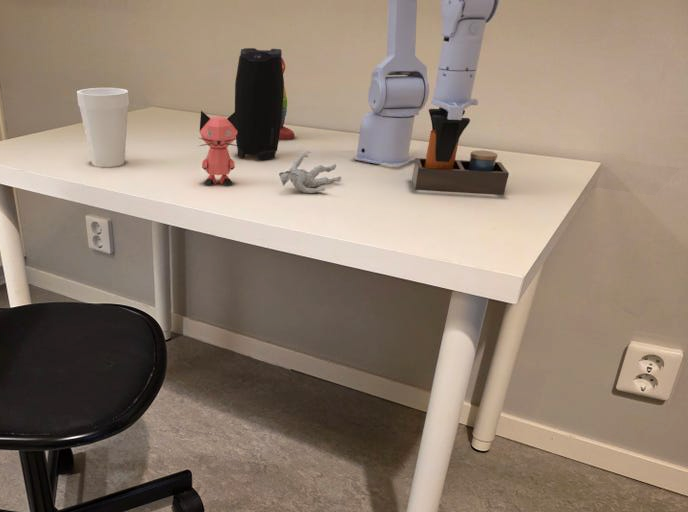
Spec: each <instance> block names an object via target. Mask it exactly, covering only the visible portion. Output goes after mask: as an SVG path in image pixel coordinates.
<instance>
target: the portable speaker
mask: <svg viewBox="0 0 688 512" xmlns="http://www.w3.org/2000/svg"><path fill="white" fill-rule="evenodd" d="M282 54H283V53H282V49H281V48H271V49H269V50H267V49H265V50H263V49H257V48H255V47H245V48H242V49H240V54H239V56H238V63H237V70H236V75H235V76H236V77H235V81H234V82H235V83H234V112H235V111H237V126H238V133H237V135H236V137H235V140H236V141H235V142H236V145H239V146H236V148H237V157H238V158H240V159H245V157H246V156H251V157H256V158H257V160H259V161H267V160H268V161H269V160H273V159H275V156H276V154H277V152H278V147H279V143H280V142H279V141H280V139H279V136H280V130H281V123H282V116H283V96H284V87H285V80H284V79H285V78H284V73H283V68H282V59H281V57H282V56H283V55H282ZM236 138H238V139H236Z"/></svg>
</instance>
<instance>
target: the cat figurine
mask: <svg viewBox="0 0 688 512" xmlns="http://www.w3.org/2000/svg"><path fill="white" fill-rule="evenodd" d="M237 133H238V126H237V111H235V110H234V112H233V113H232V114H230V115H229V116H228V117H227V118H226V117H223V116H213V117H209V116H208V115H207V114H206V113H205V112H204V111H203V110H200V120H199V134H200V137H199V139H200V140H202V141H203V142H204V143H205V144H199V145H198V146H200V147H202V146H208V147H209V149H208V152H207V155H206V157H205V159H204V160H202V165H201V168H202V169H203V170H204V171H205V172H206V173H207V174H208V176H207V178H206V179H205V180H204V182H203V185H204V186H214V185H216V184H217V183H218V181H217V178H216V176H221V177H220V179H219V183H220V184H221V185H222V186H232V185H233V182H232V180H231V178H230V177H229V176H228V175H229V174H230V172H231V171H233V170H234V169H235V168H236V165H235V161H234V160H233V159H232V158H231V155H230V152H229V150H228V147H229V146H236V147H237V146H239V145H237V144H234V143H233V142H234V141H235V140H236V139H238V138H236V135H237ZM232 143H233V144H232Z"/></svg>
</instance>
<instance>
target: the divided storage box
mask: <svg viewBox="0 0 688 512" xmlns="http://www.w3.org/2000/svg"><path fill="white" fill-rule="evenodd" d="M414 158H415V159H414V164H413V169H412V177H411V180H412V185H413V188H414V191H429V192H430V191H431V192H445V193H461V194H462V193H464V194H482V195H495V196H497V195H498V196H499V195H500V196H504V195H505V191H506V187H507V183H508V180H509V175H510V173H509V171H508V170H507V169H506V167H505V166H504V164H503V163H502V162H501V161H496V162H495V166H494V170H493V171H477V170H468V166H469V161H470V160H467V159H465V160H463V159H455V162H454V167H453V169H438V168H425V162H426V157H424V158H423V157H414Z"/></svg>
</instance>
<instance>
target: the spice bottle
mask: <svg viewBox="0 0 688 512" xmlns="http://www.w3.org/2000/svg"><path fill="white" fill-rule="evenodd" d="M459 142H460V139H459V140H458V142H457V144H456V147H455V149H454V152H453V154H452V157H451V159H450V161H449V162H440V161H436V158H435V146H436V133H435V130H430V134H429V139H428V145H427V151H426V157H425V158H426V162H425V168H438V169H453V167H454V162H455V160H456V157H457V151H458V146H459Z"/></svg>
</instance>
